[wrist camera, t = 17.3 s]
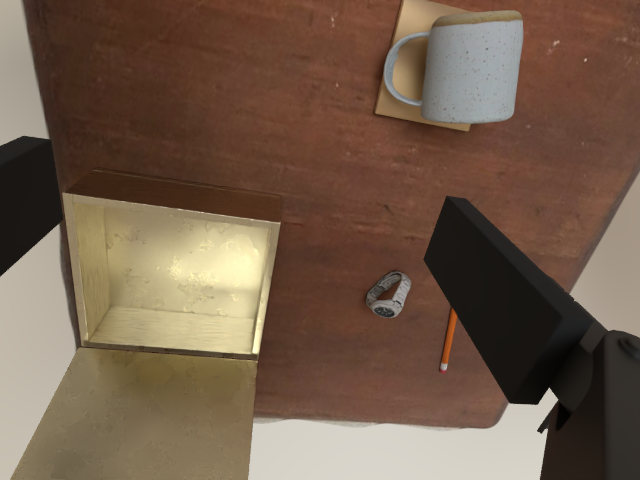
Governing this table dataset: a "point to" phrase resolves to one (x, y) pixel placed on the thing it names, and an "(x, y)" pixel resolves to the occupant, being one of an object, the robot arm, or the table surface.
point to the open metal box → (170, 263)
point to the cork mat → (413, 61)
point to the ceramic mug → (467, 67)
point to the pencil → (448, 341)
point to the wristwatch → (396, 303)
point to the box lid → (145, 419)
